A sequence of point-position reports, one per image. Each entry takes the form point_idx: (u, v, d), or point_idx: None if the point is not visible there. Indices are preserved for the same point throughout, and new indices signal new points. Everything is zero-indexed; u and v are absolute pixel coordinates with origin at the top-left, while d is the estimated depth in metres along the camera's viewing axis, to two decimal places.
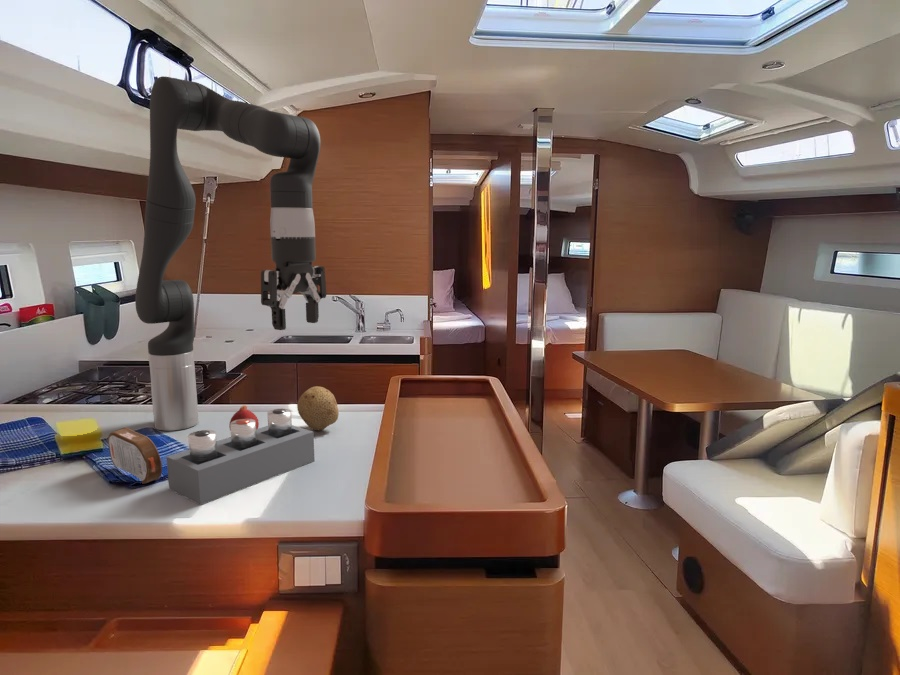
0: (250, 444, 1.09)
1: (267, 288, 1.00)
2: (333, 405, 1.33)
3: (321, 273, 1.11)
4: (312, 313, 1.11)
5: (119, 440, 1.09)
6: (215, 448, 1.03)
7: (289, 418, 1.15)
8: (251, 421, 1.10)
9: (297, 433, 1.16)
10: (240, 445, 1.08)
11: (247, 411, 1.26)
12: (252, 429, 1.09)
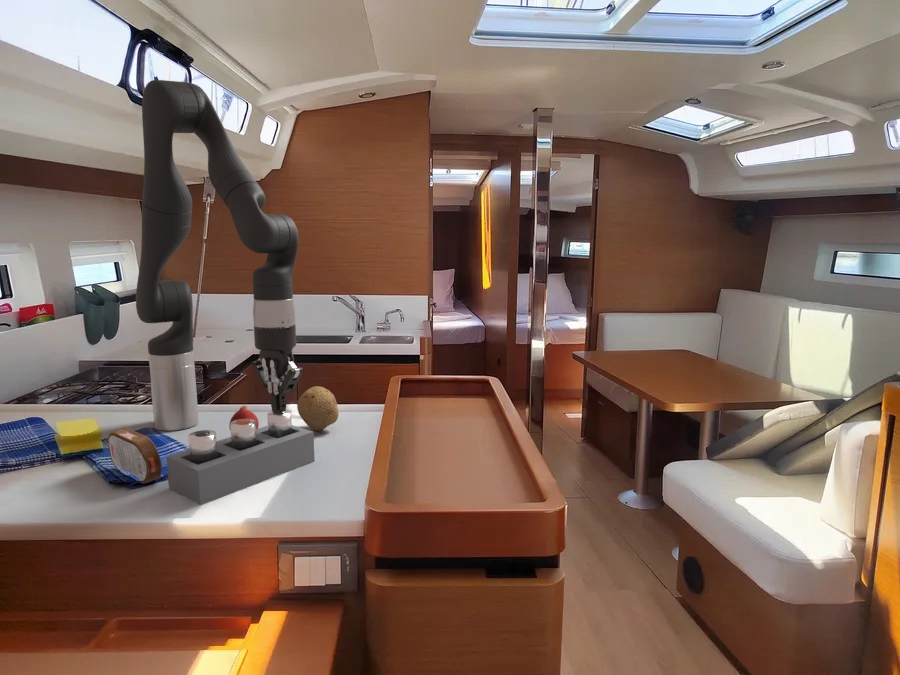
0: (250, 444, 1.09)
1: (294, 382, 1.12)
2: (333, 405, 1.33)
3: None
4: None
5: (119, 440, 1.09)
6: (215, 448, 1.03)
7: (289, 419, 1.15)
8: (251, 421, 1.10)
9: (297, 433, 1.16)
10: (240, 445, 1.08)
11: (247, 411, 1.26)
12: (252, 429, 1.09)
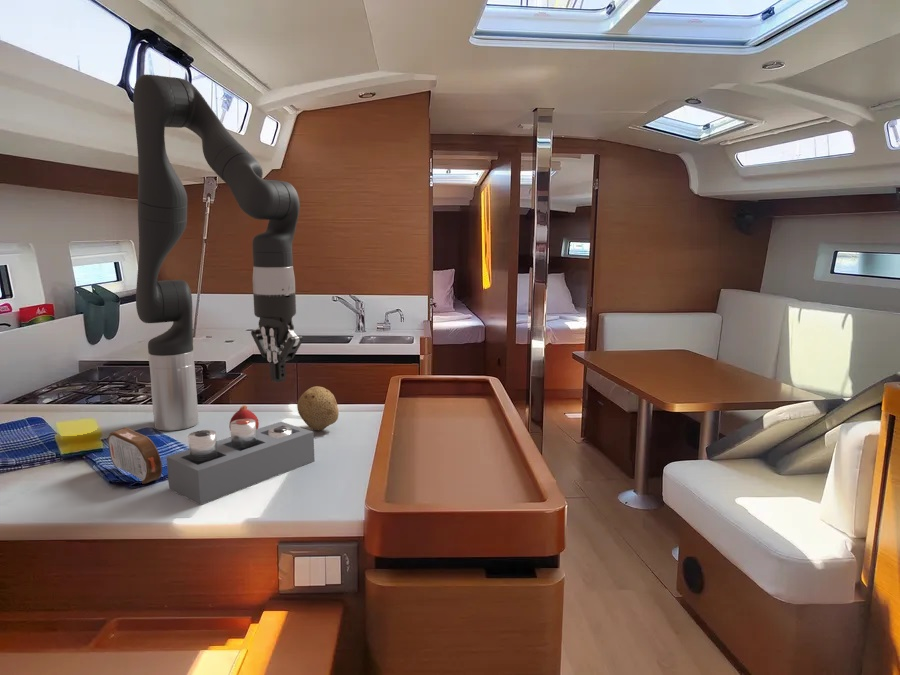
0: (250, 444, 1.09)
1: (293, 350, 1.11)
2: (333, 405, 1.33)
3: None
4: None
5: (119, 440, 1.09)
6: (215, 448, 1.03)
7: None
8: (251, 421, 1.10)
9: (297, 433, 1.16)
10: (240, 445, 1.08)
11: (247, 411, 1.26)
12: (252, 429, 1.09)
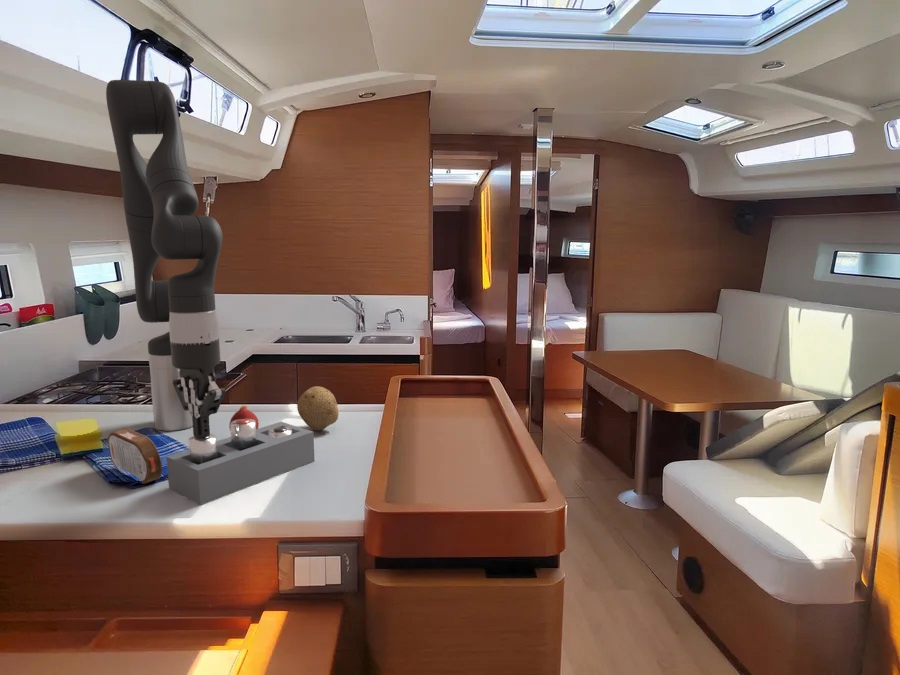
0: (250, 444, 1.09)
1: (216, 404, 0.99)
2: (333, 405, 1.33)
3: None
4: None
5: (119, 440, 1.09)
6: (215, 452, 1.04)
7: None
8: (251, 421, 1.10)
9: (297, 433, 1.16)
10: (240, 445, 1.08)
11: (247, 411, 1.26)
12: (252, 429, 1.09)
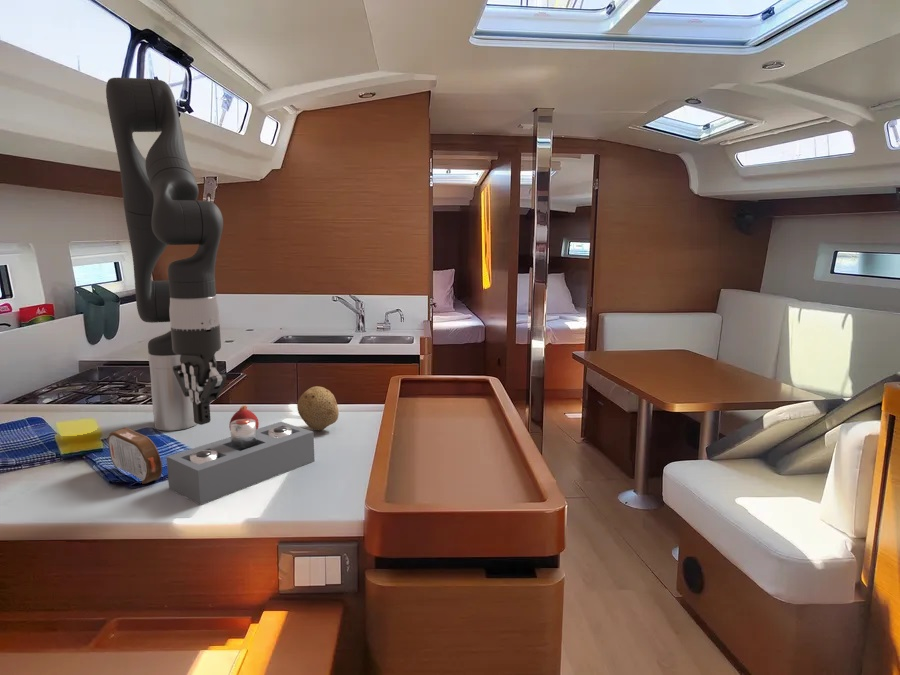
0: (250, 444, 1.09)
1: (217, 390, 0.99)
2: (333, 405, 1.33)
3: None
4: None
5: (119, 440, 1.09)
6: None
7: None
8: (251, 421, 1.10)
9: (297, 433, 1.16)
10: (240, 445, 1.08)
11: (247, 411, 1.26)
12: (252, 429, 1.09)
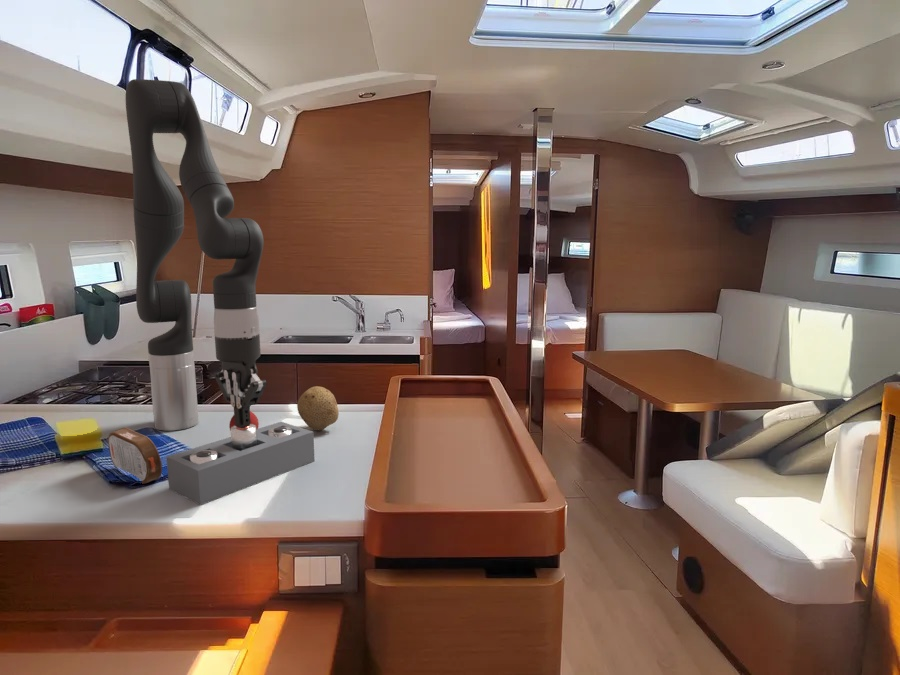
0: None
1: (257, 395, 1.06)
2: (333, 405, 1.33)
3: None
4: None
5: (119, 440, 1.09)
6: None
7: None
8: (251, 426, 1.10)
9: (297, 433, 1.16)
10: (240, 450, 1.08)
11: None
12: (252, 435, 1.09)
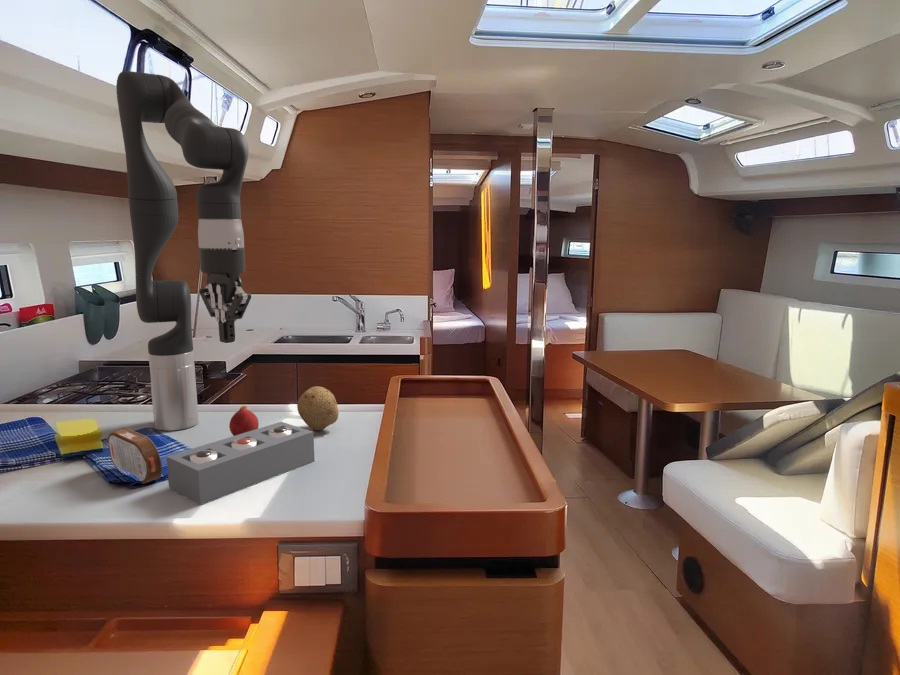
0: None
1: (242, 308, 1.05)
2: (333, 405, 1.33)
3: None
4: None
5: (119, 440, 1.09)
6: None
7: None
8: (252, 440, 1.11)
9: (297, 433, 1.16)
10: None
11: (247, 411, 1.26)
12: None
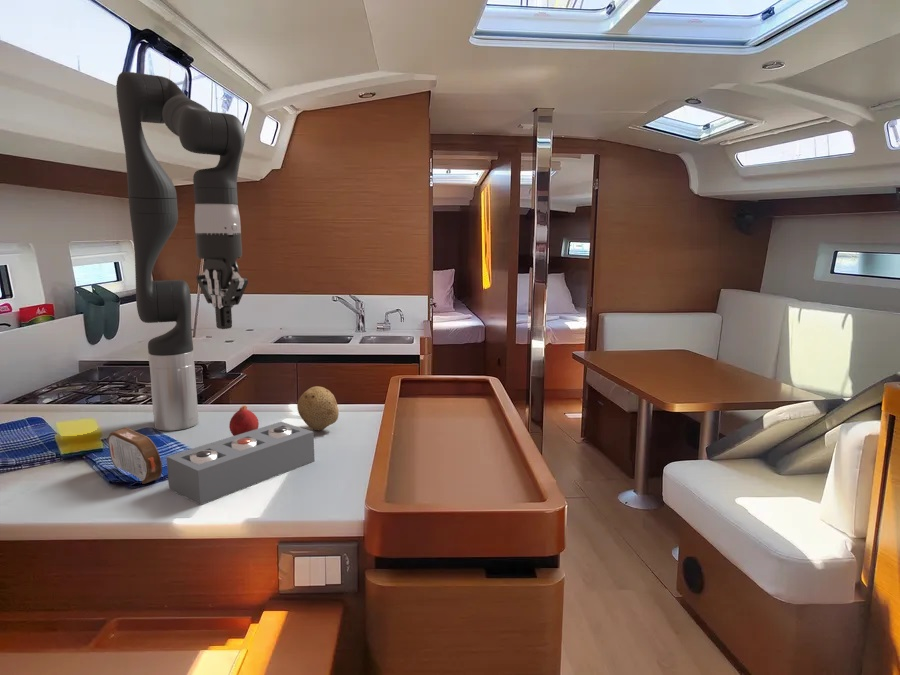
0: None
1: (238, 293, 1.05)
2: (333, 405, 1.33)
3: None
4: None
5: (119, 440, 1.09)
6: None
7: None
8: (252, 440, 1.11)
9: (297, 433, 1.16)
10: None
11: (247, 411, 1.26)
12: None
